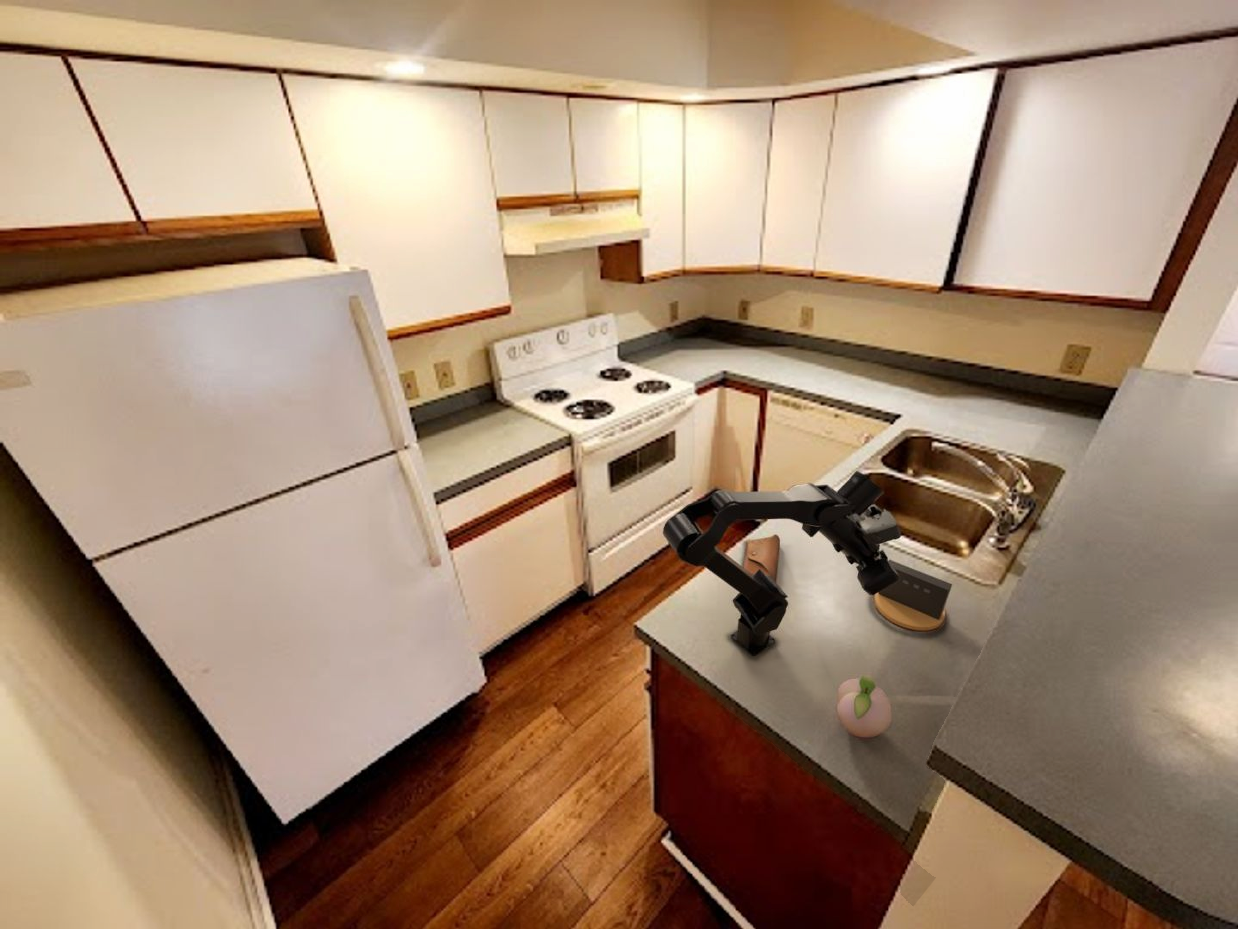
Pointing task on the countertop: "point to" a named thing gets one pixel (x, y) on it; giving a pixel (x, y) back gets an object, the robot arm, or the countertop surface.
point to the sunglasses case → (763, 556)
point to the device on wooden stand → (914, 599)
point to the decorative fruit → (863, 707)
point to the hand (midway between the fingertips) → (888, 575)
